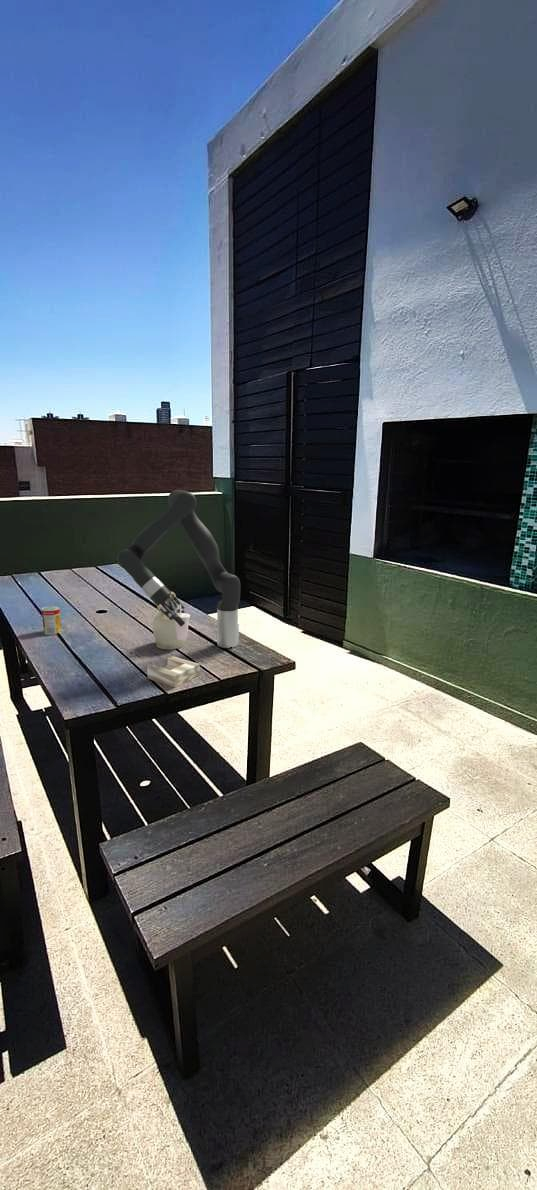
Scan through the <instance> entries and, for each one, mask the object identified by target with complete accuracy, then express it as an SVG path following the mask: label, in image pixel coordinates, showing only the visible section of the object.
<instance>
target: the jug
mask: <svg viewBox="0 0 537 1190" xmlns="http://www.w3.org/2000/svg"><path fill="white" fill-rule="evenodd" d="M170 592H171V595H170V597H171V598H172V599H173V598H174V597H176V598H177V596H176V595H177V594H175V592H174V591H171V590H170ZM156 607H157V609H156V610H157V611H158V612H157V613H156V615H155V616H154V618H153V621H152V625H151V626H152V632H153V637H154V641H155V644H156V645H155V646H156V647H157V648H158V649H160V650H176V649H180V648H182V647H183V646H184V645H185V641H186V639H185V640H178V639H177V634H176V626H175V620H173V619H172V620H170V619H169V618H168V617H167V616H166V615H165V614H164V613H163V612H162V611H161V610H160V609H161V608H162V605H161V604H160V605H159V606H157V605H156ZM184 611H185V609H184ZM185 612H186V611H185ZM169 616H170V615H169ZM170 617H171V616H170Z"/></svg>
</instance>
